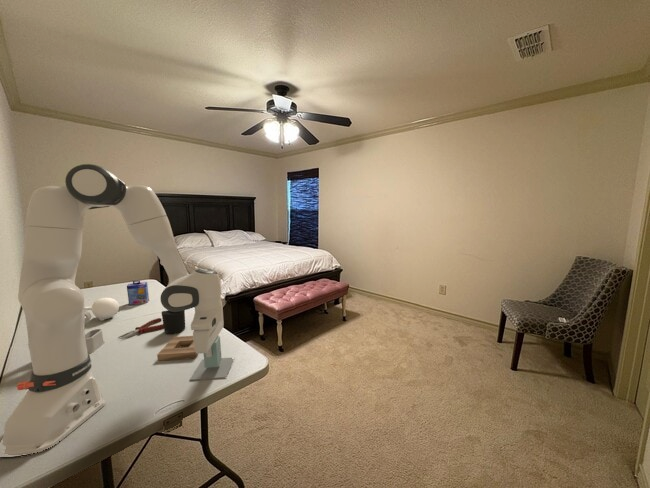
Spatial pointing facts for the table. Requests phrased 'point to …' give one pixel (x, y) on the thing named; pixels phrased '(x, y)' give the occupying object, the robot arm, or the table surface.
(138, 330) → the pliers
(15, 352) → the table surface
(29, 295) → the robot arm
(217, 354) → the square plug
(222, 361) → the rubber mat
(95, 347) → the phone holder
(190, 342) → the plug dock
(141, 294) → the ink cartridge box
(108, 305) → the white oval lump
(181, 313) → the pen holder
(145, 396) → the table surface
